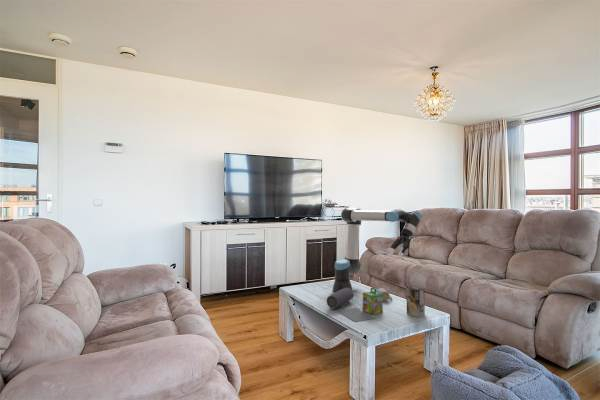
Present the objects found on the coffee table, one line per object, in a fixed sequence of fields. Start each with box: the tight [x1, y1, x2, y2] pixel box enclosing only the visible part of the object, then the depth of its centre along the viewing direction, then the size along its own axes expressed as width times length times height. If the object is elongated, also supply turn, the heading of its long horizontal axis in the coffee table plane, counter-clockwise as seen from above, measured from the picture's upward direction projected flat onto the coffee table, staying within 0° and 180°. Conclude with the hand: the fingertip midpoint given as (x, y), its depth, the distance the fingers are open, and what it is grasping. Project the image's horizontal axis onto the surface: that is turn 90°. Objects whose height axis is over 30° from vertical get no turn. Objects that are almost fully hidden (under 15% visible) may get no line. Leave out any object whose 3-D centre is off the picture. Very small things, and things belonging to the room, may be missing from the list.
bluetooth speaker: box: [326, 288, 354, 309], centre depth 213 cm, size 23×9×10 cm, turn 145°
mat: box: [336, 307, 375, 323], centre depth 195 cm, size 20×14×1 cm
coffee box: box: [405, 286, 426, 318], centre depth 195 cm, size 9×6×16 cm
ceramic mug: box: [376, 287, 393, 302], centre depth 225 cm, size 11×8×8 cm
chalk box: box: [362, 286, 384, 316], centre depth 201 cm, size 9×9×15 cm
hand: (394, 256), depth 217 cm, fingers open, 13 cm apart
